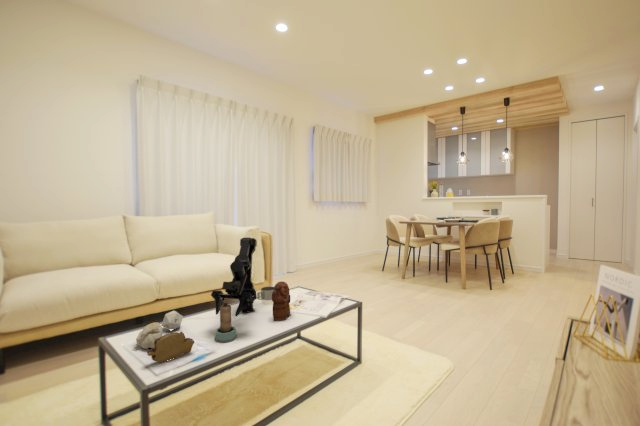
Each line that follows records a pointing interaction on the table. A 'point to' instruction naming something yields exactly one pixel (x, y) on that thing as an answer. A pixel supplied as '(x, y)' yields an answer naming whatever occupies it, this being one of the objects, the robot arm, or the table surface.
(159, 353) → the wooden carving
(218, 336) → the teal bowl
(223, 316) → the walnut peg
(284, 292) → the wooden figurine
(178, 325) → the die
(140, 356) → the table surface
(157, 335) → the fossil replica
